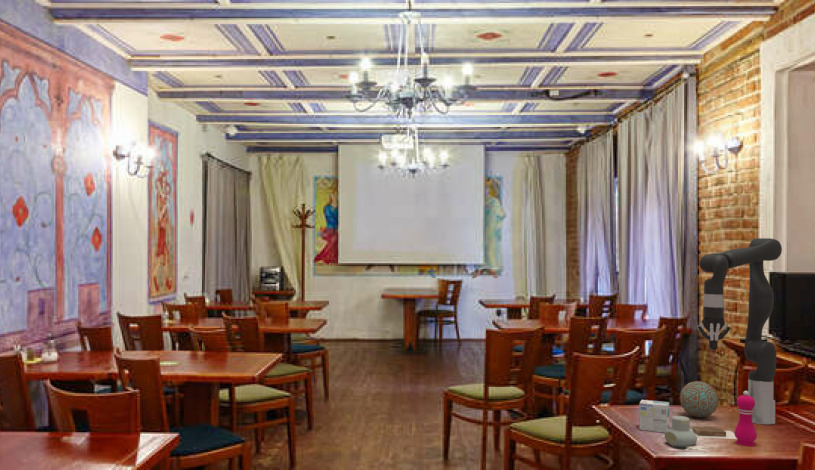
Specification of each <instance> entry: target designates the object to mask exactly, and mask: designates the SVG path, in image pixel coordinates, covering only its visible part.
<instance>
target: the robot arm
mask: <svg viewBox="0 0 815 470" xmlns="http://www.w3.org/2000/svg"><path fill="white" fill-rule="evenodd" d="M782 248H783V247H782V244H781V242H780V241H779V240H777V239H775V238H770V237H769V238H766V237H765V238H764V237H763V238H757V237H756V238H753V239H751V241H750V243H749V246H747V247H741V248H740V247H739V248H732V249H730V250H725V251H722V252H715V253H714V252H713V253H709V254H708V253H707V254H705V255H703V256H702V257H701V258H700V260H699V267H700V269H701V270H702V271H703V272H705V273H713V274H712V276H711V278H707V279H705V280H704V282H703V298H702V299H703V301H702V303H703V304H702V305H703V306H702V320H701V322H700V324H698V325H696V326H695V327H696V329H697V330H698V332H699V333H700V334H701V336H702V338H704V339H706V340H708V348H709V349H710V351H717V349H718V342H719V340H723V339H724V338H725V336H726V335H727V334H728V333H729V332H730V330H731V326H728V325H727V324H726V321H725V298H724V284H725V280H726V277H727V273H728V269H733V268H737V267H742V266H744V265H747V264H748V265H749V288H748V289H749V290H748V291H749V293H748V311H747V312H748V313H747V327H746V333H745V334H746V335H745V339H744V345H743V346H744V347H743V348H744V349H743V351H744V356H745V359H747V360H748V361H749V362H752V363H757V365H756V366H757V367H756V369H754V370H751V371H748V377H747V378H748V381H747V383H748V385H747V387H748V390H747V391H748V393H749V395H748V396H751V397H752V398H753V399H754V400H755V406H754V408H753V410H754V411H753V414H752V422H753V424H756V425H757V424H759V425H775V424H776V400H775V399H774V377H775V375H776V370H777V356H778V355H777V348H776V346H775V344H773V343H772V342H771V341H767V340H766V341H765V340H762V336H763V330H764V326H765V324H766V322H767V321H768V319H769V318H770V316H771V315H772V313H773V310H774V301H775V300H774V299H775V298H774V297H775V295H774V291H773V287H772V286H771V284H770V282H769V280H768V278H767V276H766V274H765V272H764V271H765V267H764V262H767V261H768V262H769V261H770V262H772V261H775V260H778V259H779V258H780V257H781V254H782V251H783V249H782ZM704 328H705V329H704ZM705 330H706V331H707V333H706V332H705ZM721 330H722V331H721ZM720 331H721V332H720Z"/></svg>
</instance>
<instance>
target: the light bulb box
mask: <svg viewBox="0 0 815 470" xmlns="http://www.w3.org/2000/svg"><path fill="white" fill-rule="evenodd" d="M638 407H639V409H638V410H639V413H638V414H639V415H638V416H639V420H638V421H639V426H638V427H639V428H638V430H639V429H641V430H640V431H646V430H647V432H656V433H664V434H665V432H666V431H667V430H669V429H670V402H669V401H658V400H650V399H649V400H647V399H646V400H645V399H641V400H640V401H639V406H638Z"/></svg>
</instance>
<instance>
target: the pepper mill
mask: <svg viewBox="0 0 815 470" xmlns="http://www.w3.org/2000/svg"><path fill="white" fill-rule="evenodd" d="M748 395H749V393H748V390H744V391H743V392H742V394H741V395H739V396H738V397H737V399H736V405H737V407H738V408H737V410H738V412H737V413H739V416H738V417H739V418H738V419H739V420H738V422H737V424H736V427H735V429H734V433H735V437H736V438H737V439H736V441H735V443H736V444H737V445H739V446H743V447H755V446H756V442H755V441H756V440H757V438H758V434H757V431H756V428H755V426H754V423H753V422H752V414H753V411H754V410H753V408H754V406H755V400H754V399H753V398H752V397H751V396H748Z"/></svg>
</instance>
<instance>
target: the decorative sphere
mask: <svg viewBox="0 0 815 470" xmlns="http://www.w3.org/2000/svg"><path fill="white" fill-rule="evenodd" d="M679 402H680V405H681V407H682V409H683V410H684V412H685V413H687V414H688V415H690V416H691V417H695V418H699V419H700V418H708V417H710V416H711V415H712V414H714V413H715V412H716V410H717V409H718V405H719V397H718V394H717V392H716V390H715V389H714V387H713V386H712V385H710V384H709V383H707V382H704V381H700V380H694V381H690V382H688V383H687V384H685V385H684V386H683V387H682V388H681V391H680V392H679Z"/></svg>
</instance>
